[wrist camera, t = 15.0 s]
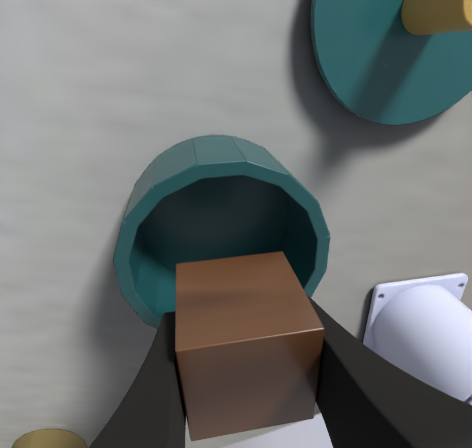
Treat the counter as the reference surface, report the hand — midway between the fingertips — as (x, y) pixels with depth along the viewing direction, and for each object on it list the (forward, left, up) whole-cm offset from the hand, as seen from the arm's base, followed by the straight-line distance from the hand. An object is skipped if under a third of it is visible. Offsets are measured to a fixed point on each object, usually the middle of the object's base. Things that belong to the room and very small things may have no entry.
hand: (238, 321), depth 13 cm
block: (0, 0, -1) cm, 1 cm away
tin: (0, 0, -9) cm, 9 cm away
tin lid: (+11, -11, -8) cm, 18 cm away
